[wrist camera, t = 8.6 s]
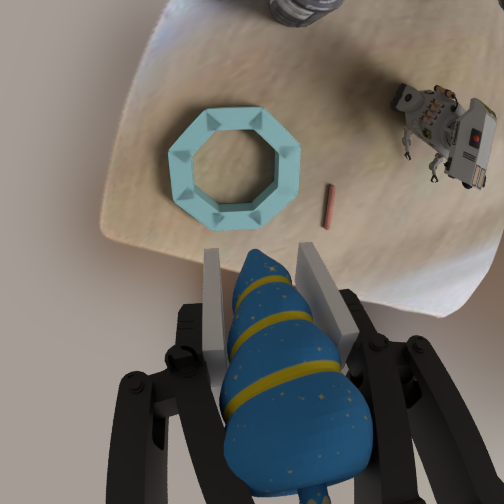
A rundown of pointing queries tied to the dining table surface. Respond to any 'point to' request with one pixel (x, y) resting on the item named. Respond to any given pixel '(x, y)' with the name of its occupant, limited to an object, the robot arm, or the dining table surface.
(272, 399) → the ornament
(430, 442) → the robot arm
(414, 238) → the dining table surface
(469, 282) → the dining table surface
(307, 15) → the pill bottle
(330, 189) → the reddish pink rod
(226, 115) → the teal octagonal ring
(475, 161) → the figurine
